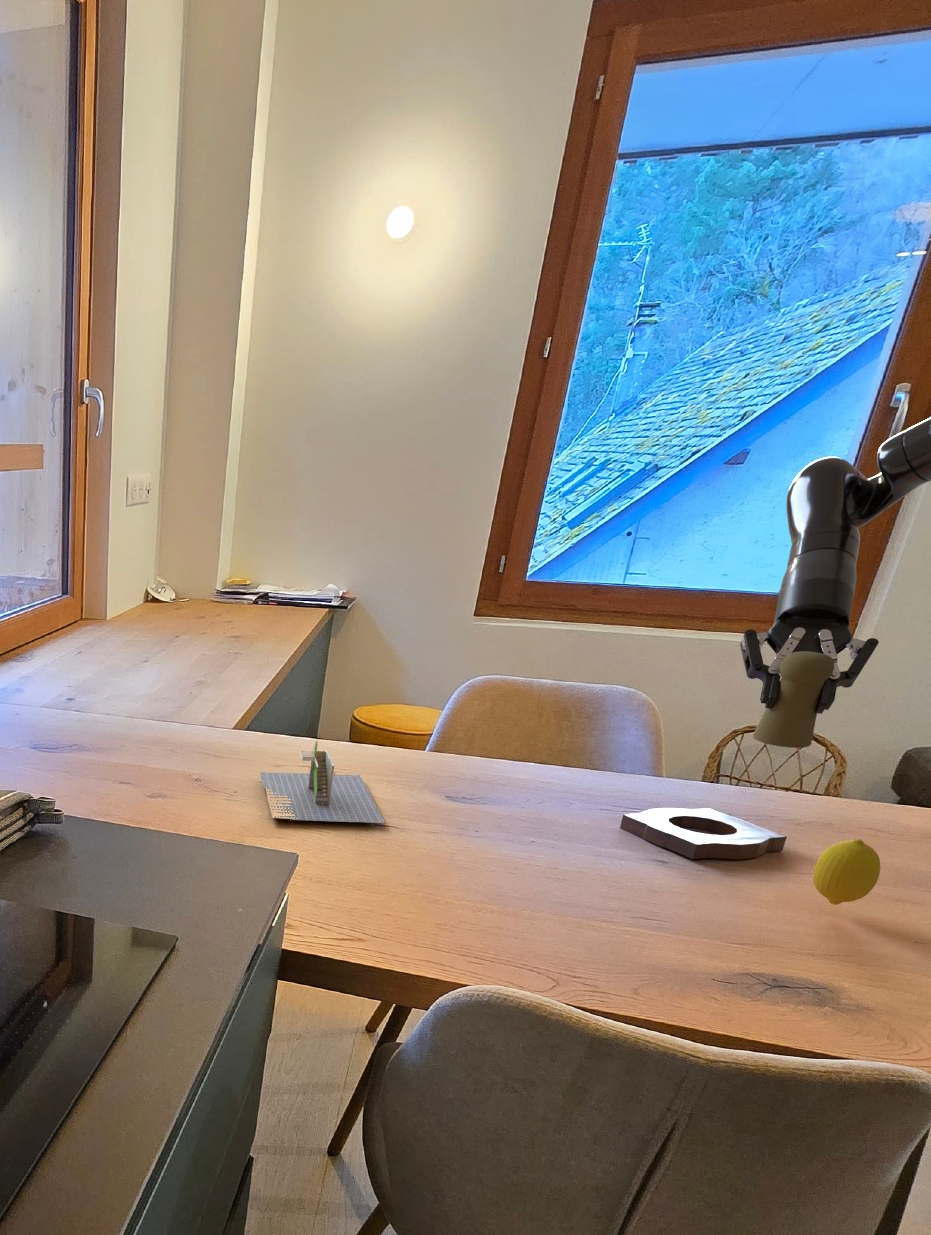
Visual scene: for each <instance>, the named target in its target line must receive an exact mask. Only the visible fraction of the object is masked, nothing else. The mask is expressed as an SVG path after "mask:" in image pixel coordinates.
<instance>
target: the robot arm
mask: <svg viewBox="0 0 931 1235" xmlns="http://www.w3.org/2000/svg"><path fill="white" fill-rule="evenodd" d="M876 462H877V467H878V469H879V473H878V474H876V475H875V476H872V477H870V478H867V476H865V475H864V474H863V473H862V472H861V471H860V470H858V469H857V468H856V467H855V466H854V465H853V464H852V463H851V462H850V461H848V460H846V459H845V458H842V457H837V456H827V457H821V458H819V459H817V460H814V461H813V462H810V463H809V464H808V465H805V467H803V469H802V470H801V471H800V472H798V474H797V475H796V476H795V478H794V479H793V480H792V481H791V482H792V483H791V484H790V486H789V488H788V490H787V495H786V518H787V524H788V526H787V527H788V532H789V537H790V541H791V546H790V550H789V554H788V559H787V565H786V570H785V572H784V575H783V577H782V580H781V585H780V588H779V590H778V594H777V604H776V609H775V615H774V619H773V624H772V626H771V627H770V628H769V629H768V631H763V632H757V630H755V629H753V628H752V629H746V630H745V632H744V634H743V636H742V638H741V641H740V643H739V647H740V651H741V656H742V660H743V664H744V670H745V674H746V677H747V678H748V679H750V680H754V679H755V680H756V679H758V680H760V681H761V682H762V687H761V691H760V697H759V702H760V703H761V704H764V708H765V709H766V708H772V707H773V705H774V703H775V701H776V698H777V693H778V688H779V682H780V680H781V678H782V677H781V674H780V664H781V662H782V660H783V659H784V658H785V657H786V656H787V655H788V654H790V653H793V652H801V651H809V652H817V653H821V654H825V655H828V656H830V657H831V658H832V659H833V661H834V670H833V673H832V674H831V676H830V677H829V678H828V679H827V680H826V681H824V682H823V684H822V690H821V694H820V698H819V701H818V705H817V709H816V712H815V713H817V714H820V715H822V714H823V713H824V712H825V711H829V710H830V708H831V707H832V705H833V703H834V702H835V700H836V694H837V689H838V688H839V687H842V688H851V687H852V686H853V685H854V683H855V681H856V680H857V679H858V678H859V675H860V674H861V672H862V671H863V669H864V668H865V666H866V665H867V663H868V661H869V659H871V657H872V655H873V653H874V652H875V650H876V648H877V646H878V645H879V642H880V641H879V640H878V638H875V637H870V638H868V639H866V640H862V639H858V638H855V637H853V634H852V632H851V631H850V620H851V614H852V610H853V603H854V597H855V591H856V585H857V562H858V556H859V550H860V545H861V534H860V530H859V529H860V528H861V527H863V526H865V525H867V524H868V523H869V522H871V521H873V520H875V518H876V517H878V516H879V515H881V514H882V513H883V512H885V511H887V509H889V508H890V507H892V506H893V505H895V504H896V503H898V502H899V501H900V500H902V499H903V498H905V497H906V496H907V495H908V494H910V493H912V492H913V491H914V490H916V489H917V488H918V487H921V486H923V485H924V484H927V483H929V482H931V417H929V418H927V419H925V420H923V421H921V422H919V423H917V424H915V425H912V426H911V427H909V428H907V429H905V430H903V431H901V432H899V433H897V434H896V435H893V436H892V437H890V438H888V439H887V440H886V441H884V442H883V443H882V444H881V445H880V447H879V448H878V451H877V455H876ZM764 643H766V644H767V645H768V646H769V647H770V648H771V650H772V651H773V652H774V653H775V654H776V656H775V658H774V660H773V661H772V662H771V664H770V665H768V664H766V663H765V664H764V659H763V655H762V652H761V649H762V648H763V646H764ZM846 649H848V650H849V656H850V659H851V660H853V661H852V663H851V664H850V666H849V667H848V669H847V670H842V671H841V670H840V668H839V665H838V655H839V654H840V653H841V652H843V651H844V650H846Z"/></svg>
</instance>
